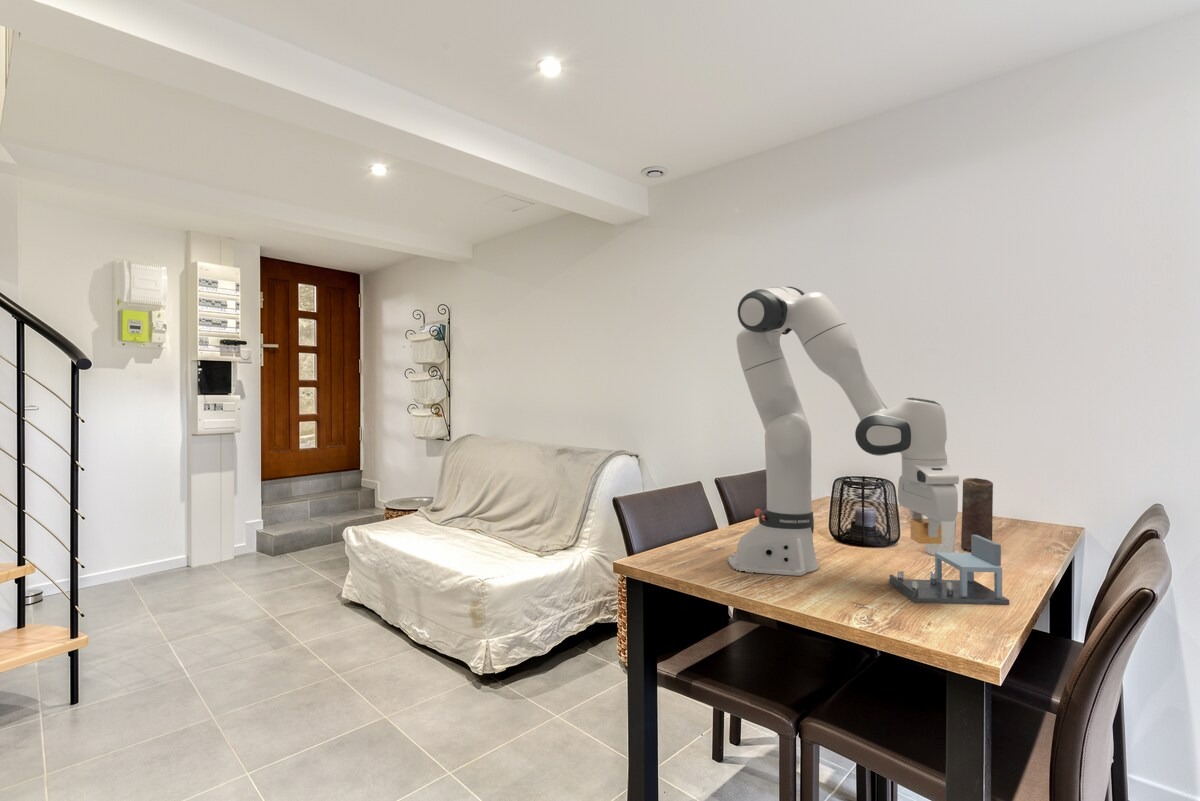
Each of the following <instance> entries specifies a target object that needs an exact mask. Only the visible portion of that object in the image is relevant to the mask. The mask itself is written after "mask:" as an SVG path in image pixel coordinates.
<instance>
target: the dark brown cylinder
mask: <svg viewBox="0 0 1200 801" xmlns="http://www.w3.org/2000/svg"><path fill="white" fill-rule="evenodd" d="M993 496H994V482H992V481H991V480H988V479H984V478H977V477H973V478H972V477H967V478H964V479H963V480H962V500H961V501H962V506H961V510H962V511H961V532H960V533H961V536H960V537H961V539H960V547H961V548H963V549H964V550H967V551H969V550H970V551H971V535H979V536H981V537H983V538H986V539H988V540H991V541H993V508H994V507H993V506H994V505H993V503H994V502H993V501H994V500H993V499H994V497H993Z"/></svg>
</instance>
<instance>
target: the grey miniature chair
mask: <svg viewBox="0 0 1200 801" xmlns="http://www.w3.org/2000/svg"><path fill="white" fill-rule="evenodd" d="M1001 547H1002V544H1000V543H998V542H995V541H993V540H992V541H991V540H988V539H986V538H983V537H981V536H979V535H971V550H970V551H971V552H954V553H935V555H934V572H936V573H937V581H942V580H943V562H944V563H945V564H948V565H949V566H951V567H953V568H955V569H957V570H958V571H959V580H960V595H961V596H967V580H968V581H975V573H994V577H993V579H994V580H993V582H994V583H993V584H994V585H993V586H994V590H993V591H994V596H996V597H1002V596H1003V567H1002V559H1001V558H1002V553H1001V552H1002V548H1001Z"/></svg>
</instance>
